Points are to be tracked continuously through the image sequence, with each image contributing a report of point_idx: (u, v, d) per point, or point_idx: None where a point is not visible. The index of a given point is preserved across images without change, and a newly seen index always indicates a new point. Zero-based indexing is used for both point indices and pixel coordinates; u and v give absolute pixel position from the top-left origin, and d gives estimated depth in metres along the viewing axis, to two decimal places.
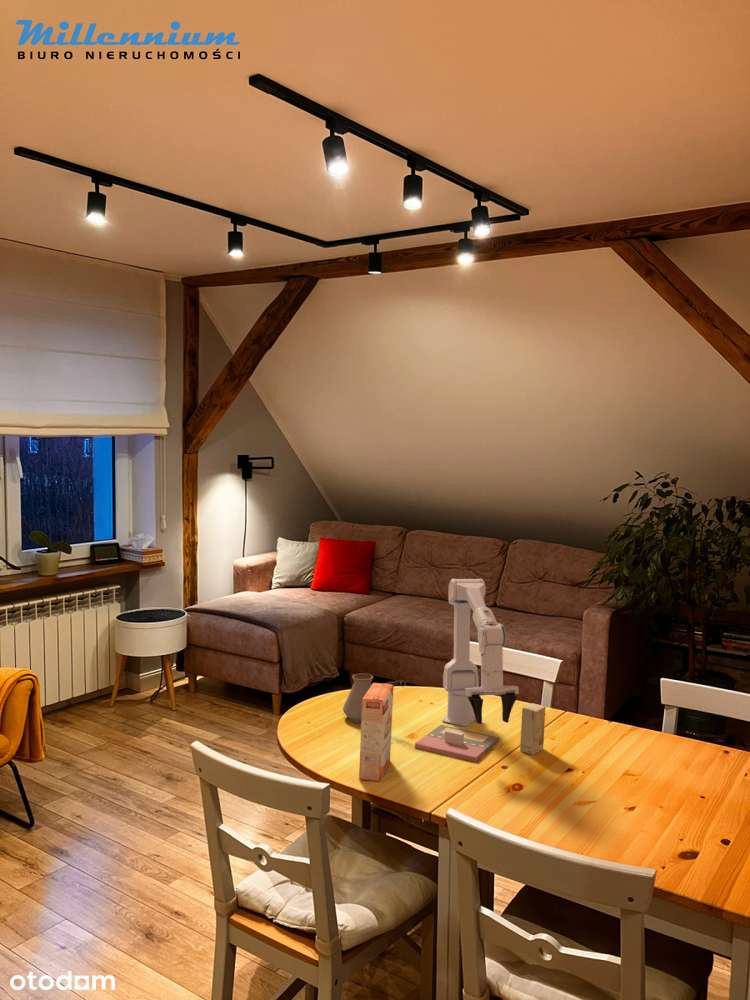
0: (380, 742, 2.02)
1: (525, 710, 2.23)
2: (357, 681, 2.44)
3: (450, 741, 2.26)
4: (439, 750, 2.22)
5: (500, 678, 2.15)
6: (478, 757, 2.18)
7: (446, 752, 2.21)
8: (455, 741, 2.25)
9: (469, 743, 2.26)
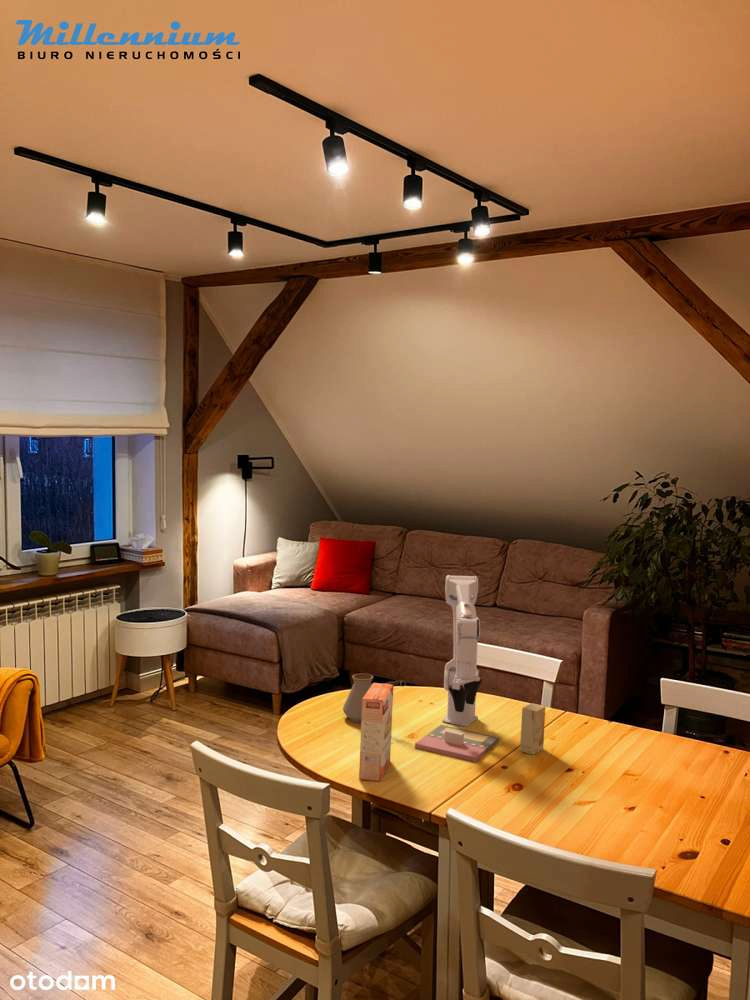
0: (380, 742, 2.02)
1: (525, 710, 2.23)
2: (357, 681, 2.44)
3: (450, 741, 2.26)
4: (439, 750, 2.22)
5: None
6: (478, 757, 2.18)
7: (446, 752, 2.21)
8: (455, 741, 2.25)
9: (469, 743, 2.26)
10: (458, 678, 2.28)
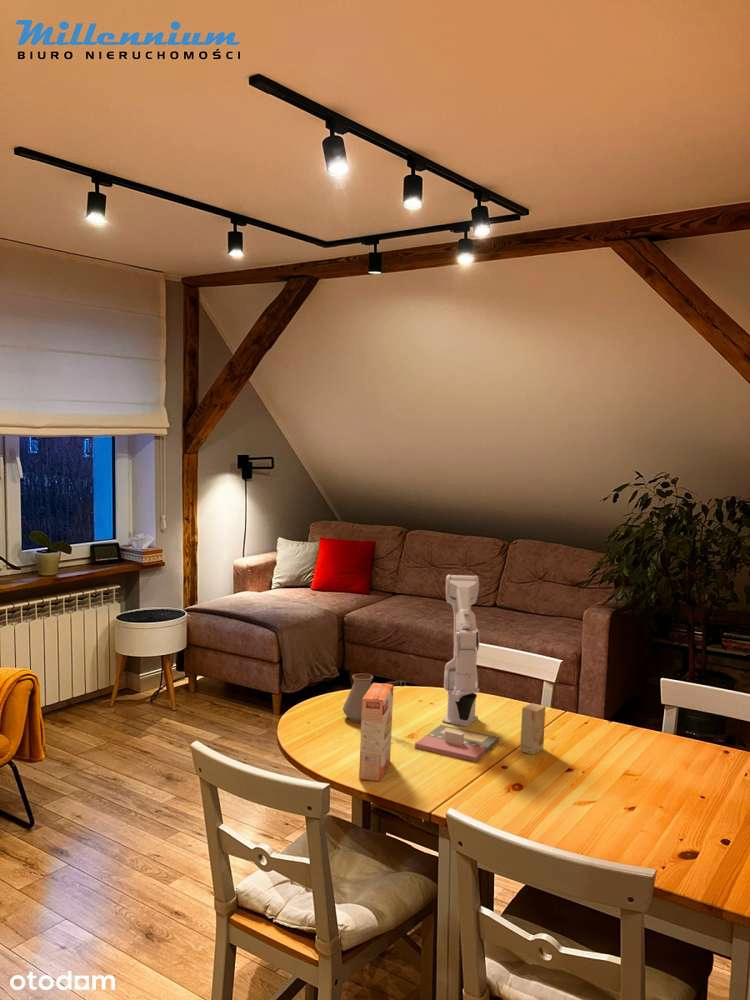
0: (380, 742, 2.02)
1: (525, 710, 2.23)
2: (357, 681, 2.44)
3: (450, 741, 2.26)
4: (439, 750, 2.22)
5: (475, 678, 2.31)
6: (478, 757, 2.18)
7: (446, 752, 2.21)
8: (455, 741, 2.25)
9: (469, 743, 2.26)
10: (457, 690, 2.29)
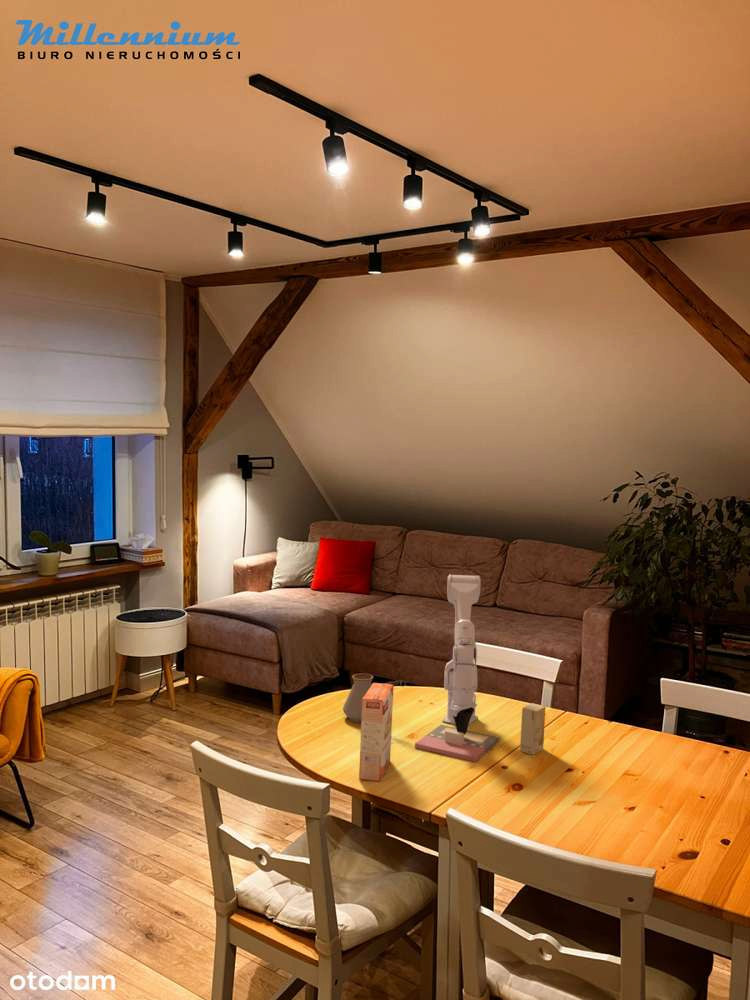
0: (380, 742, 2.02)
1: (525, 710, 2.23)
2: (357, 681, 2.44)
3: (450, 741, 2.26)
4: (439, 750, 2.22)
5: None
6: (478, 757, 2.18)
7: (446, 752, 2.21)
8: (455, 741, 2.25)
9: (469, 743, 2.26)
10: (455, 704, 2.28)
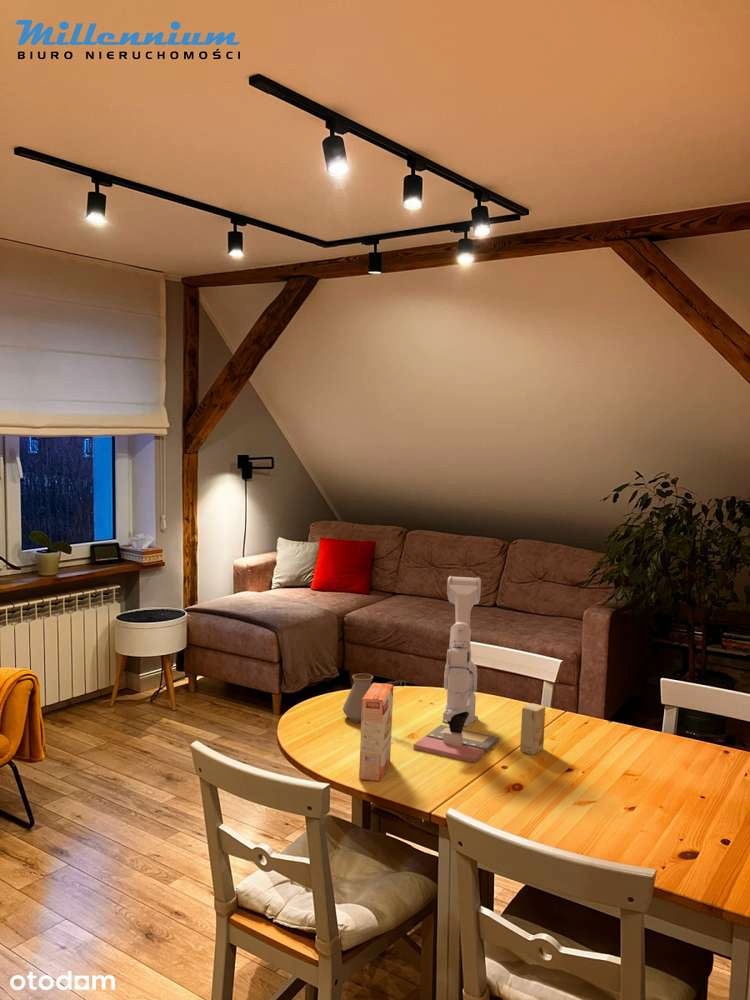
0: (380, 742, 2.02)
1: (525, 710, 2.23)
2: (357, 681, 2.44)
3: (449, 742, 2.25)
4: (438, 751, 2.21)
5: None
6: (477, 758, 2.17)
7: (445, 753, 2.20)
8: (453, 742, 2.25)
9: (469, 743, 2.26)
10: (449, 708, 2.24)
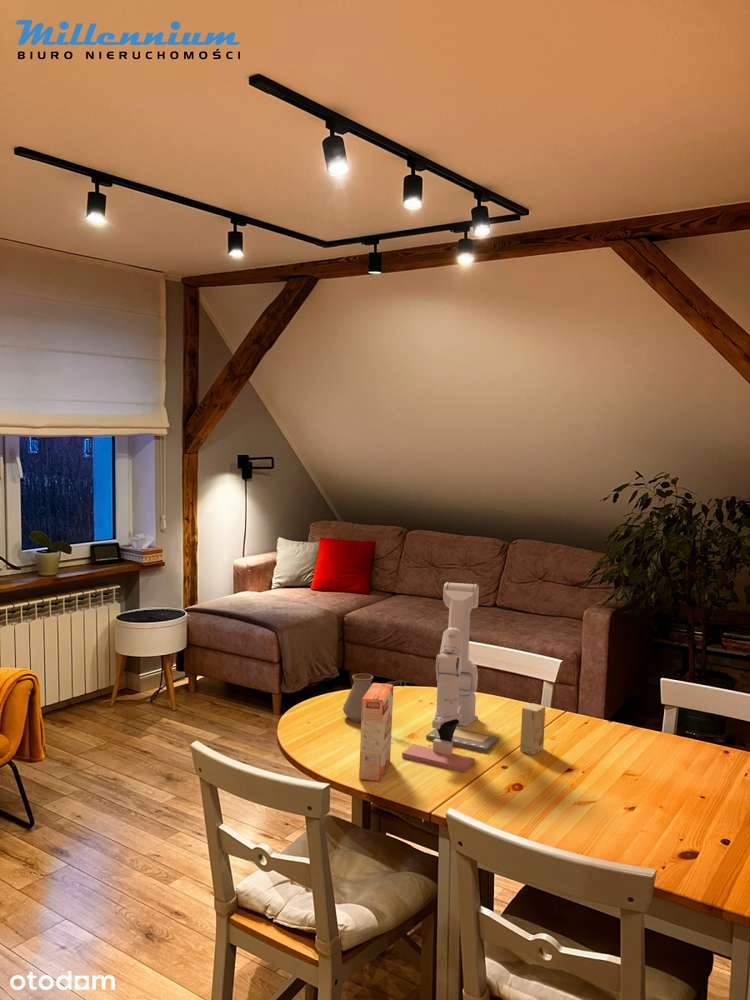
0: (380, 742, 2.02)
1: (525, 710, 2.23)
2: (357, 681, 2.44)
3: (438, 750, 2.19)
4: (427, 760, 2.15)
5: None
6: (467, 767, 2.11)
7: (434, 762, 2.14)
8: (443, 750, 2.19)
9: (469, 743, 2.26)
10: (439, 716, 2.18)
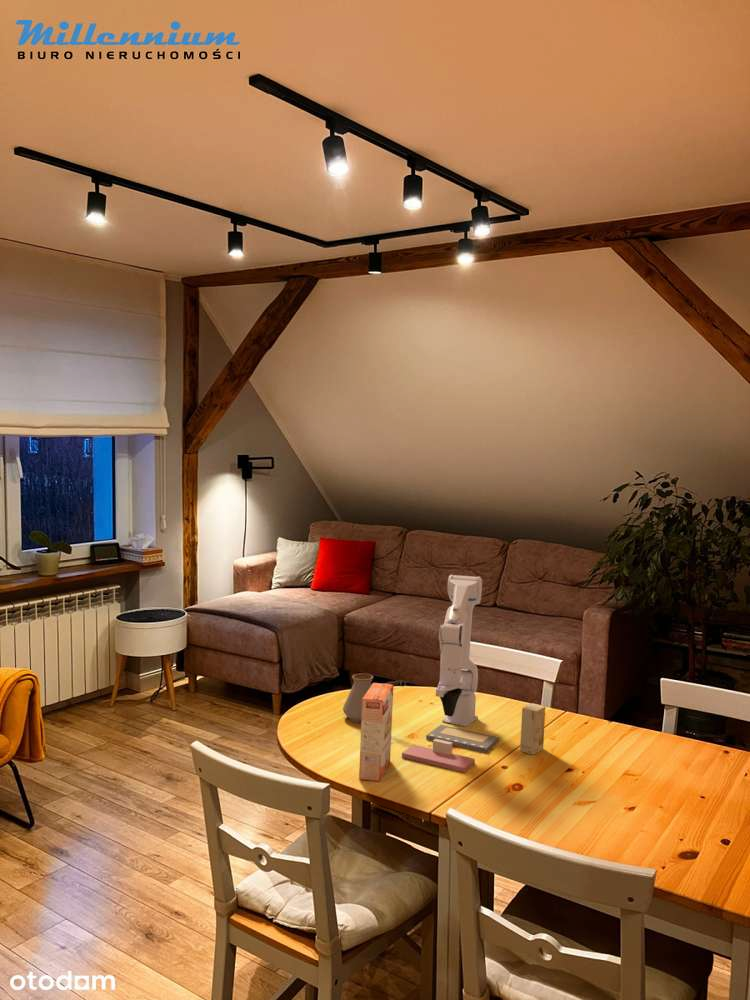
0: (380, 742, 2.02)
1: (525, 710, 2.23)
2: (357, 681, 2.44)
3: (438, 751, 2.19)
4: (426, 760, 2.15)
5: None
6: (467, 767, 2.11)
7: (434, 762, 2.14)
8: (443, 750, 2.18)
9: (469, 743, 2.26)
10: (442, 685, 2.23)
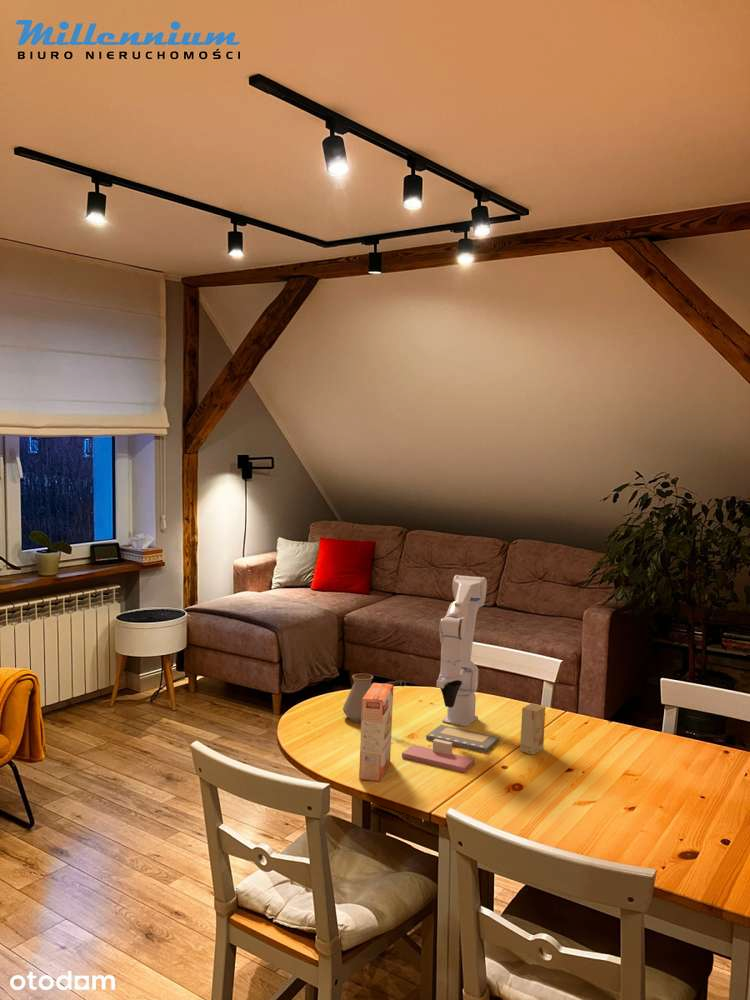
0: (380, 742, 2.02)
1: (525, 710, 2.23)
2: (357, 681, 2.44)
3: (438, 751, 2.19)
4: (426, 760, 2.15)
5: None
6: (467, 767, 2.11)
7: (434, 762, 2.14)
8: (443, 750, 2.18)
9: (469, 743, 2.26)
10: (443, 677, 2.29)
